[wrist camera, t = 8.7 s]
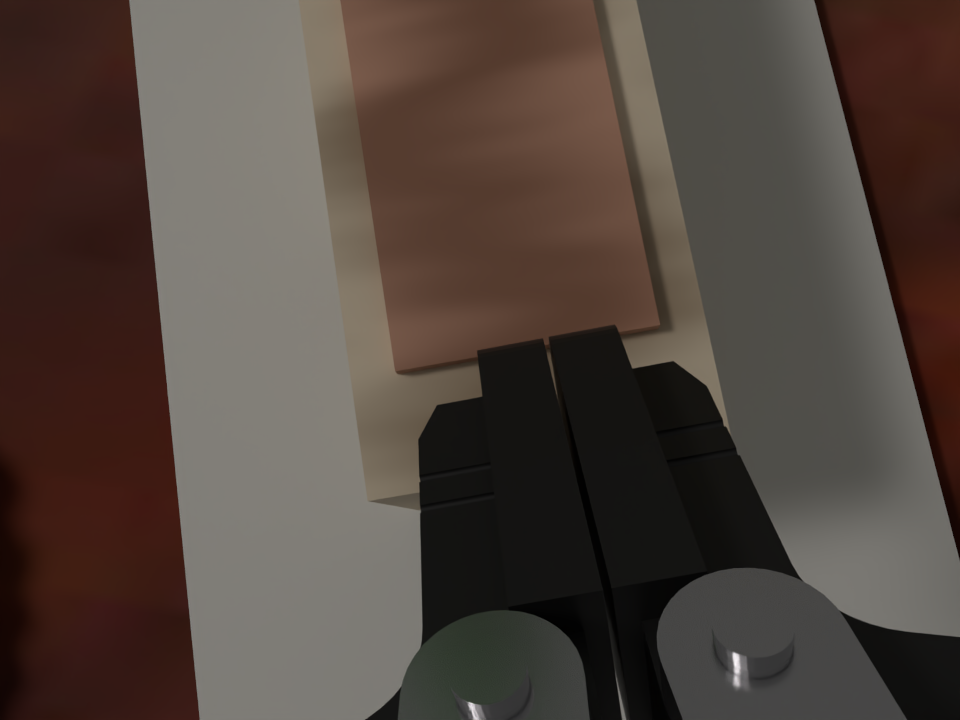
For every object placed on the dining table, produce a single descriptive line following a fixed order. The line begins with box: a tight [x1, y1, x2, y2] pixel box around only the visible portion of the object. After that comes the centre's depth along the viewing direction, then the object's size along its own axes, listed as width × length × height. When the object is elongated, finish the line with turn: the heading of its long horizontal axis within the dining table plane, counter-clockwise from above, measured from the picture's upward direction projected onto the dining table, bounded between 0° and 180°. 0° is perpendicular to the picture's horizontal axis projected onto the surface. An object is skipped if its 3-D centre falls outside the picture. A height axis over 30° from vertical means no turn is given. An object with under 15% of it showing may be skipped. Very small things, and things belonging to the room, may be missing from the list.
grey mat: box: [129, 0, 960, 720], centre depth 22 cm, size 17×26×1 cm, turn 9°
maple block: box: [299, 0, 731, 510], centre depth 19 cm, size 6×6×14 cm
